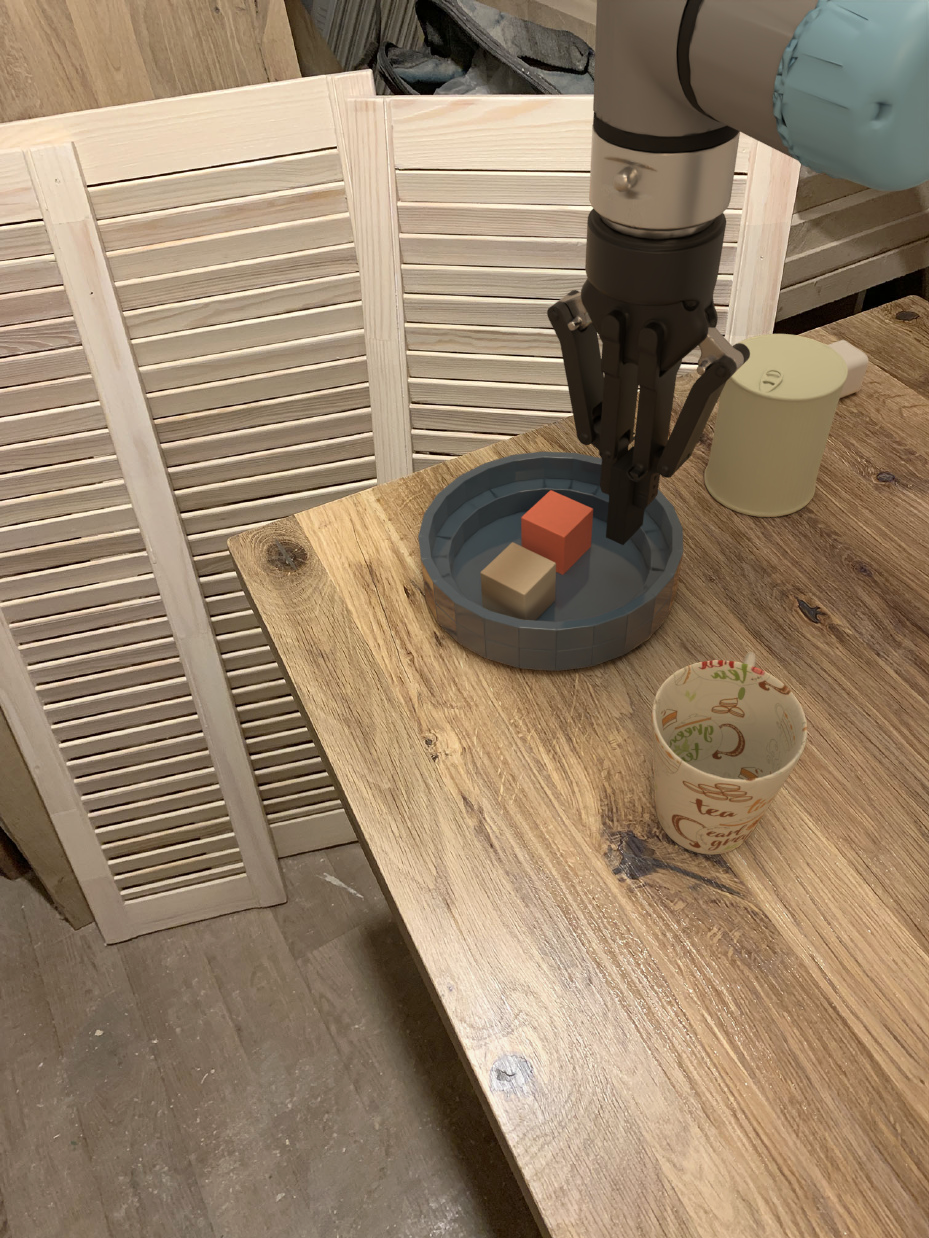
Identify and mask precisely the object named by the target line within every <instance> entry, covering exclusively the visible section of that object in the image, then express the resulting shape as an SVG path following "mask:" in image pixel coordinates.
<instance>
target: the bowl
mask: <svg viewBox="0 0 929 1238" xmlns="http://www.w3.org/2000/svg"><path fill="white" fill-rule="evenodd" d="M601 465H602V458H601V457H598V456H594V455H590V454H589V455H588V454H583V453H578V452H565V451H562V452H561V451H543V450H542V451H535V452H534V451H533V452H527V453H517V454H512V455H507V456H504V457H500V458H497V459H494V460H490V461H487V462H484V463H482V464H480V465H478V466H475V467H474V468H472V469H470V470H468V471H465V472H464V473H462V474H460V475H459V476H457V477H456V478H455V479H454V480H452V481H451V482H450V483H449V484H447V485H446V486H445V487H443V488H442V490H440V491H439V492H438V493H437V494H436V495H435V496H434V498H433V500H432V501H431V503H430V504H429V505H428V507H427V509H426V510H425V511H424V513H423V516H422V519H421V524H420V528H419V531H418V536H417V539H418V549H419V555H420V556H419V557H420V564H421V572H422V573H421V574H422V580H423V588H424V596H425V601H426V603H427V605H428V607H429V609H430V611H431V613H432V615H433V617H434V619H435V621H436V623H437V624H438V625H439V626H440V627H441V628H442V629H443V630H444V631H445V632H446V633H447V634H448V635H449V636H451V637H452V639H453V640H454V641H456V642H457V643H458V644H459V645H461V646H462V647H463V648H466V649H468V650H470V651H471V652H472V653H475V654H477V655H478V656H480V657H482V658H484V659H487V660H490V661H493V662H497V663H500V664H503V665H507V666H510V667H513V668H517V669H521V670H523V669H524V670H536V671H537V670H538V671H550V672H555V671H556V672H560V671H567V670H574V669H582V668H590V667H594V666H597V665H600V664H603V663H606V662H609V661H612V660H614V659H618V658H620V657H623V656H625V655H627V654H628V653H629V652H631V651H632V650H634V649H635V648H637V647H638V646H640V645H642V644H643V643H645V642H646V641H648V640H650V639H651V638H652V636H653V635H654V633H655V632H657V630H658V629H659V628H660V626H661V625H662V624H663V623H664V622H665V621H666V619H667V618H668V617H669V615H670V612H671V609H672V607H673V604H674V601H675V599H676V595H677V593H678V587H679V581H680V574H681V568H682V561H683V556H684V528H683V526H682V523H681V521H680V519H679V515H678V513H677V511H676V509H675V507H674V505H673V503H671V502H670V500H669V499H668V498H667V497H666V495H665V494H664V493H663V492H662V491H661V489H659V488H658V495H657V496H656V497H655V499H654V500H653V501H652V502H651V503H650V504H649V505H648V506H647V507H646V508H645V510H644V518H643V525H642V526H641V527H640V528H639V529H638V530H637V531H636V532H635V533H634V535H633V536H632V537H631V538H630V539H629V540H628V541H627V542H626V543H625V544H624V545H621V544H619V543H617V542H615V541H613V540H611V539H608V538H606V528H607V516H608V504H609V495H608V494H605V493H603V492H602V490H601V487H600V479H601ZM550 490H552V491H554V492H556V493H559V494H561V495H563V496H565V497H568V498H570V499H572V500H574V501H577V502H579V503H581V504H584V505H586V506H588V507H590V508H593V521H592V537H591V547H590V548H589V549H588V550H587V551H586V552H585V553H584V554H583V555H582V556H581V557H580V558H579V559H578V560H577V561H576V562H575V563H574V564H573V565H572V566H571V567H570V568H569V569H568V570H567V571H566V572H565V573H564V574H563V575H562V574H560V573H558V572H556V586H555V601H554V602H553V603H552V604H551V605H550V606H549V607H548V608H547V609H546V610H545V611H544V612H543V614H542V615H541V616H540V617H539V618H538V619H537V620H522V619H518V618H514V617H511V616H507V615H503V614H500V613H496V612H492V611H489V610H487V609H485V608H484V607H482V591H481V574H480V573H481V571H482V570H483V569H484V568H486V567H487V566H488V565H489V564H490V563H491V562H492V561H493V560H494V559H495V558H496V557H497V556H498V555H499V554H500V553H501V552H502V551H503V550H505V549H506V548H507V547H508V546H509V545H510V544H511V543H512V542H513V543H515V544H518V545H520V546H522V536H521V517H522V516H523V515H524V514H525V513H527V512H528V511H529V510H530V509H531V508H532V507H533V506H534V505H535V504H536V503H537V502H538V501H539V500H541V499H542V498H543V497H544V496H545V495H546V494H547V493H548V492H549V491H550Z"/></svg>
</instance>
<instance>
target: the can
mask: <svg viewBox="0 0 929 1238" xmlns="http://www.w3.org/2000/svg"><path fill="white" fill-rule="evenodd" d="M738 343H742V344H744V345H746V346H747V347H748V349H749V350H750V358H749V359H748V360H747V361H746V362H745V363H744V364H743V365H742V366H741V367H740V368H739V369H738V370H737V371H736V372H735V373H734V374H733V375H732V376H731V377H730V378H729V379H728V380H727V382H726V384H725V386H724V388H723V390H722V392H721V394H720V396H719V399H718V400H719V401H718V405H717V406H718V408H717V412H716V419H715V425H714V429H713V436H712V443H711V446H710V452H709V457H708V462H707V465H706V467H705V470H704V474H703V475H704V476H703V479H704V484H705V487H706V489H707V491H708V493H709V494H710V495H711V497H712V498H713V499H714V500H715V501H716V502H718V503H719V504H721V505H722V506H724V507H726V508H727V509H729V510H731V511H734V512H736V513H739V514H742V515H745V516H746V515H747V516H751V517H758V518H775V517H783V516H787V515H791V514H793V513H796V512H798V511H800V510H801V509H803V508H805V507H806V506H807V505H808V504H809V503H810V502H811V500H812V499H813V498H814V496H815V493H816V490H817V489H816V488H817V479H818V475H819V472H820V468H821V463H822V461H823V456H824V453H825V450H826V446H827V442H828V440H829V435H830V432H831V429H832V425H833V421H834V418H835V415H836V411H837V408H838V405H839V401H840V399H841V398H840V395H841V392H842V389H843V386H844V383H845V381H846V379H847V375H848V368H847V365H846V362H845V360H844V359H843V358H842V356H841V355H840V354H839V353H837V352H836V351H835V350H834V349H832V348H831V347H829V346H827V345H828V344H826V343H823V342H821V341H819V340H816V339H814V338H811V337H810V338H809V337H806V336H801V335H796V334H788V333H787V334H786V333H767V334H766V333H765V334H759V335H755V336H751V337H749V338H746V339H743V340H741V341H739V342H738Z"/></svg>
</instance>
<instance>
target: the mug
mask: <svg viewBox="0 0 929 1238" xmlns="http://www.w3.org/2000/svg"><path fill="white" fill-rule="evenodd" d="M756 662H757V655H756V654H755V652H753V651H749V652H747V653H746V655H745V656H744V658H743V662H740V661H735V660H734V661H733V660H727V659H726V660H724V659H714V660H713V659H712V660H704V661H699V662H694V663H691V664H689V665H686V666H683V667H682V668H680V669H678V670H676V671H675V672H674V673H673V672H672V674H670V675H669V676H668V677H667V678H666V679H665V680H664V682H663V683H662V684H661V685H660V687H659V688H658V689H657V691H656V694H655V696H654V698H653V702H652V707H651V716H650V724H651V742H652V743H651V744H652V745H651V746H652V762H653V763H652V764H653V778H654V800H655V801H654V802H655V811H656V816H657V819H658V822H659V824H660V826H661V828H662V829H663V831H664V832H665V833H666V835H667V836H668V837H669V838H670V839H671V840H672V841H673V842H675V843H676V844H677V845H679V846H680V847H682V848H684V849H686V850H687V851H691V852H694V853H697V854H702V855H721V854H726V853H729V852H732V851H733V850H736V849H737V848H739V847H740V846H742V845H743V844H744V843H745V842H746V841H747V840H748V838H749V837H750V836H751V835H752V833H753V831H754V830H755V829H756V827H757V825H758V824H759V822H761V820H762V818H763V816H764V815H765V813H766V812H767V810H768V809H769V807H770V806H771V804H772V803H773V801H774V799H775V798H776V796H777V795H778V793H779V792H780V790H781V789H782V787H783V786H784V784H785V783H786V781H787V779H788V778H789V777H790V775H791V774H792V772H793V770H794V769H795V768H796V765H797V764H798V763H799V761H800V759H801V757H802V755H803V752H804V750H805V747H806V744H807V741H808V722H807V717H806V714H805V711H804V708H803V707H802V704H801V703H800V701H799V700H798V698H797V697H796V695H795V694H794V693H793V692H792V691H791V689H790V688H789V687H788V686H787V685H785V684H784V683H783V682H782V681H781V680H780V679H778V678H777V677H775V676H774V675H772V674H771V673H769V672H767V671H765V670H763V669H761V668H759V667H757V666H756Z"/></svg>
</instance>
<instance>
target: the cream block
mask: <svg viewBox="0 0 929 1238" xmlns="http://www.w3.org/2000/svg"><path fill="white" fill-rule="evenodd" d="M480 574H481V591H482V607H484V608H485V609H487V610H489V611H492V612H496V613H500V614H503V615H507V616H511V617H514V618H518V619H522V620H537V619H538V618H539V617H540V616H541V615H542V614H543V612H544V611H545V610H546V609H547V608H548V607H549V606H550V605H551V604H552V603H553V602H554V601H555V586H556V563H555V562H553V561H551V560H549V559H547V558H545V557H543V556H540V555H538V554H536V553H534V552H532V551H530V550H528V549H526V548H524V547H522V546H520V545H518V544H515V543H513V542H512V543H511V544H510V545H509V546H508V547H507V548H506V549H505V550H503V551H502V552H501V553H500V554H499V555H498V556H497V557H496V558H495V559H494V560H493V561H492V562H491V563H490V564H489V565H488V566H487V567H486V568H484V569H483V570H482V571H481V573H480Z"/></svg>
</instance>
